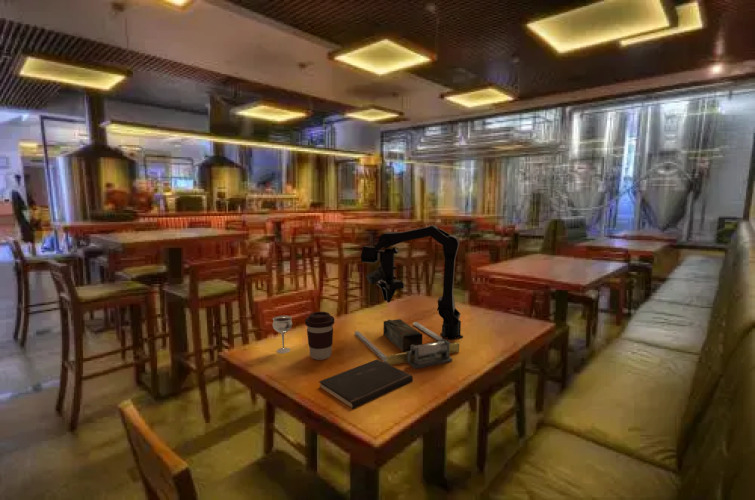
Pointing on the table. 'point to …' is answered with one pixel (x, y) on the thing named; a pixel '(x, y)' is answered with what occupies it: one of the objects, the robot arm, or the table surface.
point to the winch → (428, 354)
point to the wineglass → (282, 329)
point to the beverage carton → (402, 334)
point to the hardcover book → (365, 382)
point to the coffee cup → (320, 334)
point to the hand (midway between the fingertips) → (387, 301)
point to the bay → (402, 356)
